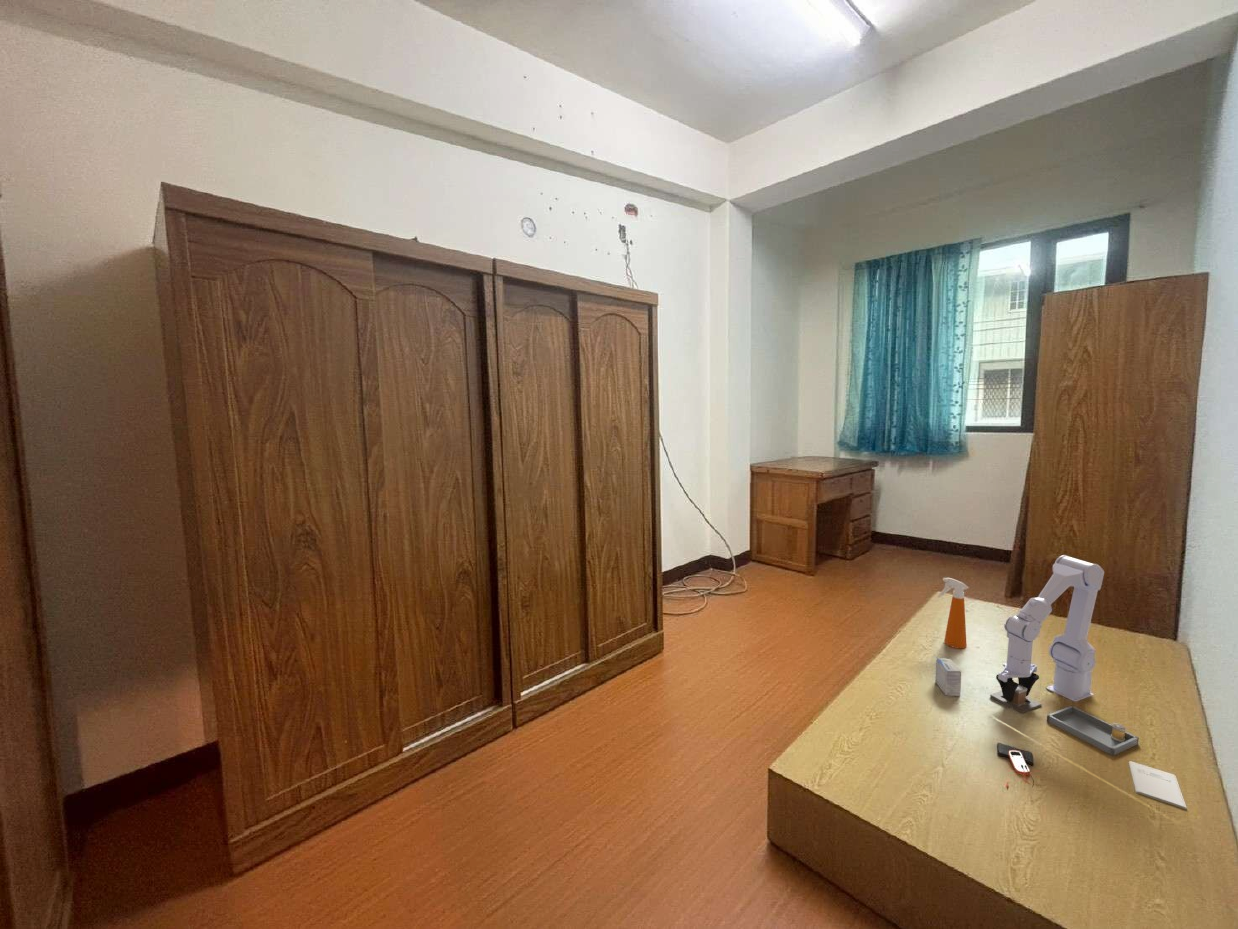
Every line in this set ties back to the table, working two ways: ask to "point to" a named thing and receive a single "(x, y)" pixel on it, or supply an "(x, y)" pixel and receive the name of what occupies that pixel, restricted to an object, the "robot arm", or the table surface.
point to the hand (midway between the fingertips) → (1015, 697)
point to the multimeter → (1017, 758)
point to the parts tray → (1090, 730)
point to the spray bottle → (955, 614)
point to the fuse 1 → (1020, 696)
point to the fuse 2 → (1118, 732)
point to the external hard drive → (1156, 784)
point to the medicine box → (948, 677)
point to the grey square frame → (1021, 709)
